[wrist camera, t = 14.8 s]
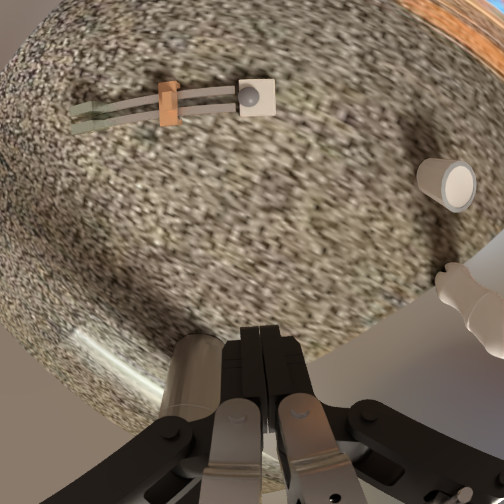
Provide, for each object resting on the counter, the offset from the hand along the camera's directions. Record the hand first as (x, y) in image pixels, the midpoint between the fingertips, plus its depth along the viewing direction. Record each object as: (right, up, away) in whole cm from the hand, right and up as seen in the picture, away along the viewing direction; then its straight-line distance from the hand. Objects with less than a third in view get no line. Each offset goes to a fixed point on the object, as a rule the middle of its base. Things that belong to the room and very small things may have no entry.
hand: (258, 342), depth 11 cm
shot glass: (+26, +15, +24) cm, 38 cm away
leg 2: (-12, +20, +20) cm, 31 cm away
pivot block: (-1, +22, +20) cm, 29 cm away
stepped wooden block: (-10, +21, +20) cm, 31 cm away
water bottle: (+33, -1, +31) cm, 46 cm away
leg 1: (-12, +22, +19) cm, 32 cm away
